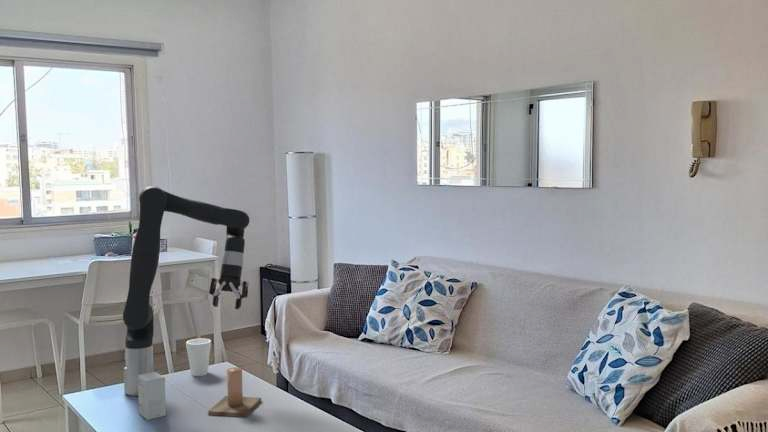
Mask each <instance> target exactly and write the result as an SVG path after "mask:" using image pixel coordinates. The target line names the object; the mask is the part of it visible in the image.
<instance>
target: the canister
mask: <svg viewBox="0 0 768 432" xmlns="http://www.w3.org/2000/svg"><path fill="white" fill-rule="evenodd" d="M226 379H227V380H226V382H227V383H226V384H227V385H226V387H227V389H226V390H227V396H228V406H231V407H237V406H241V405H242V404H243V397H244V396H243V393H244V392H243V368H242V367H237V366H235V367H230V368H228V369H227V370H226Z"/></svg>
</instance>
